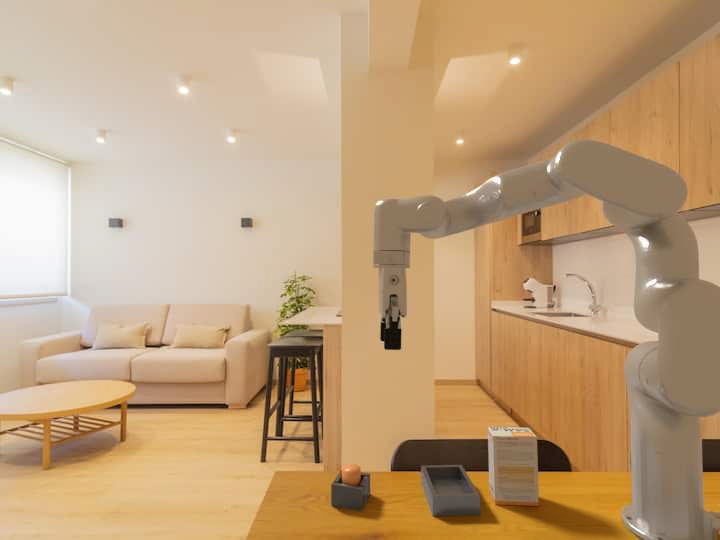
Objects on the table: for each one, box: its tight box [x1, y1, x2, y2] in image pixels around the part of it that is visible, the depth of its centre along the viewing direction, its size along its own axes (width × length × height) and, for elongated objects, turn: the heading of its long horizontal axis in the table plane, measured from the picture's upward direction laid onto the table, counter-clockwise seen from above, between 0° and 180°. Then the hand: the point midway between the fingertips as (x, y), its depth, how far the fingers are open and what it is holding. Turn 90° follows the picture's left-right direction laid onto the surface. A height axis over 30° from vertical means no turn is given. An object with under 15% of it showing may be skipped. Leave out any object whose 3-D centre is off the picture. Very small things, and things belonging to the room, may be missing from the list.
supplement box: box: [487, 426, 540, 507], centre depth 75 cm, size 8×5×13 cm, turn 84°
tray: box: [420, 464, 481, 517], centre depth 75 cm, size 9×12×4 cm
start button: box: [341, 463, 361, 486], centre depth 75 cm, size 4×4×4 cm
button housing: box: [330, 469, 371, 512], centre depth 75 cm, size 6×6×4 cm
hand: (390, 345), depth 78 cm, fingers open, 9 cm apart
